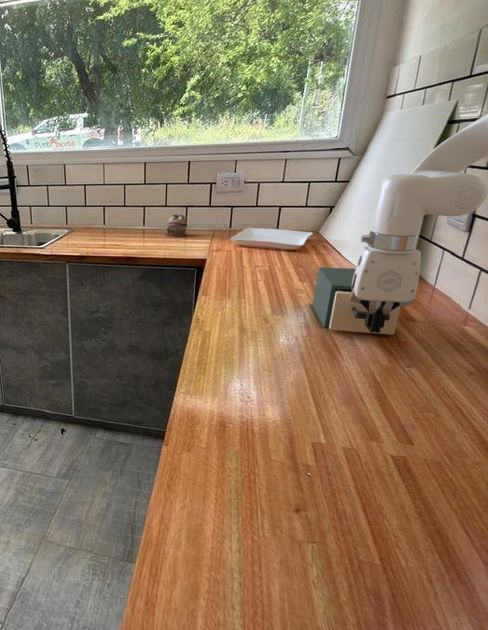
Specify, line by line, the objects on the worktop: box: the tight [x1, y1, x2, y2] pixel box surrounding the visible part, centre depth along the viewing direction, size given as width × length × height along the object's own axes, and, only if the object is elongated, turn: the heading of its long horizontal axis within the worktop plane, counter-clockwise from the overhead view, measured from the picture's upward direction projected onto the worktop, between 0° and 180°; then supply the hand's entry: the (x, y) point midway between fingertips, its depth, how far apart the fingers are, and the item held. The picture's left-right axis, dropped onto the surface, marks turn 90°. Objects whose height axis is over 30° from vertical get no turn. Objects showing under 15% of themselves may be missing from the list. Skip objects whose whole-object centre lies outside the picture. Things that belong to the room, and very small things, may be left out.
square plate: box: [230, 227, 314, 251], centre depth 186 cm, size 27×27×4 cm
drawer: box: [328, 289, 402, 336], centre depth 102 cm, size 19×12×9 cm, turn 162°
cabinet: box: [311, 266, 356, 329], centre depth 107 cm, size 16×14×11 cm
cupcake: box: [165, 213, 188, 238], centre depth 208 cm, size 10×10×10 cm
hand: (372, 329), depth 92 cm, fingers closed
